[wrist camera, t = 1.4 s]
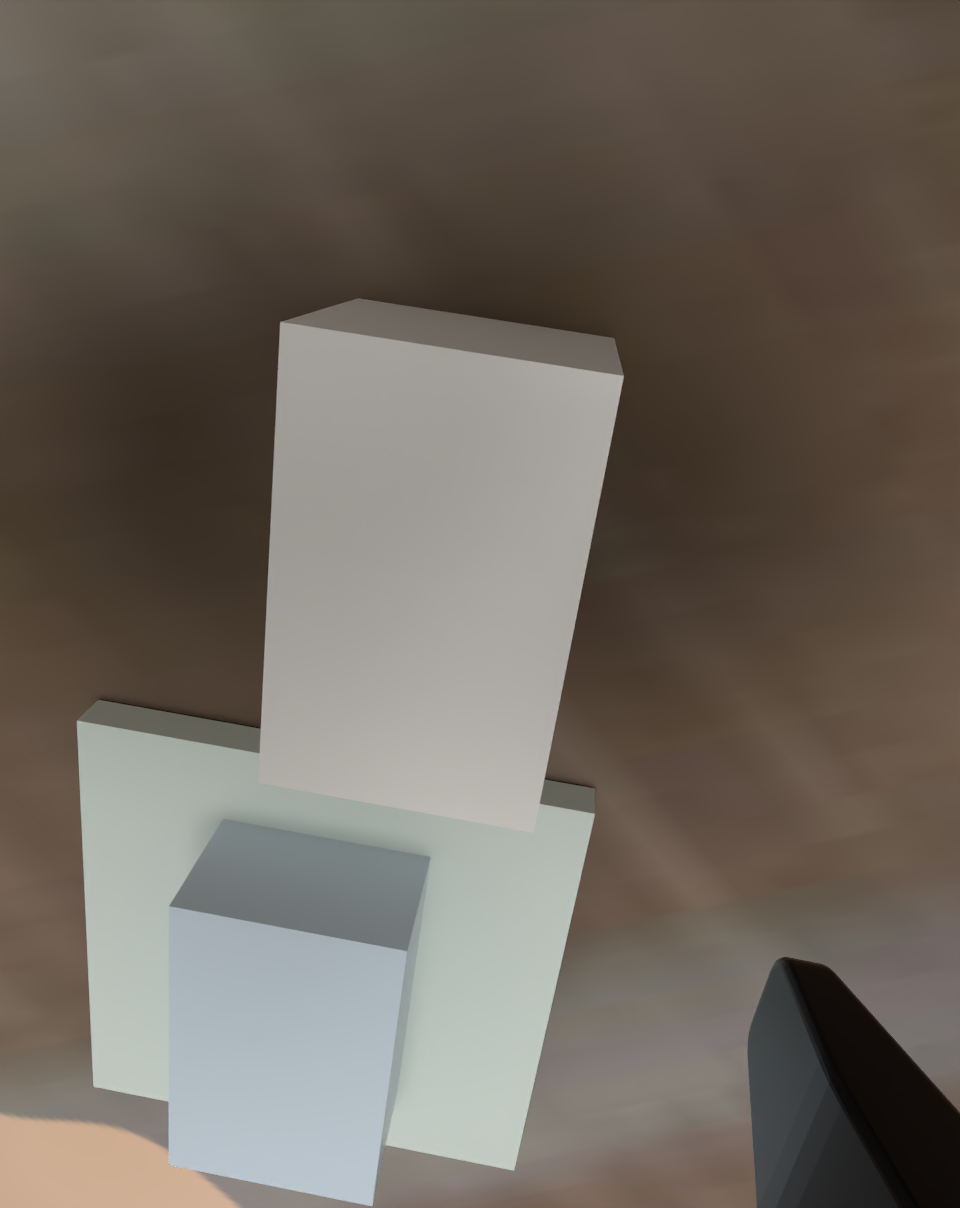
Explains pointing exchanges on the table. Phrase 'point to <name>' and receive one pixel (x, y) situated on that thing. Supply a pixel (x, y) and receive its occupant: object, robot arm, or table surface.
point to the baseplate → (461, 946)
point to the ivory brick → (428, 553)
